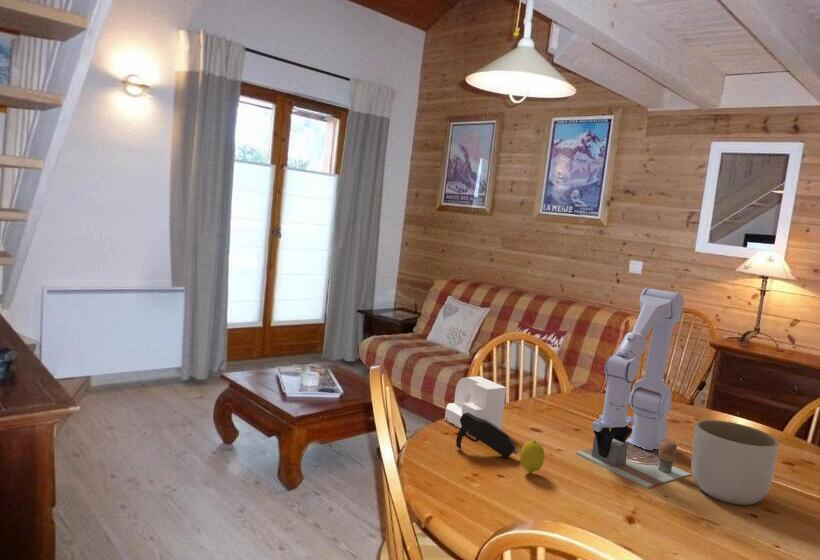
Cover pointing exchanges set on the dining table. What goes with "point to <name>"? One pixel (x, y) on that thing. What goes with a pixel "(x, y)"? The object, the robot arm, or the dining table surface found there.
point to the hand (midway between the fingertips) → (609, 454)
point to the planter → (733, 461)
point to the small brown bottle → (666, 456)
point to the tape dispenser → (477, 401)
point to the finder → (612, 453)
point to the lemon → (532, 456)
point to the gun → (485, 434)
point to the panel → (638, 471)
